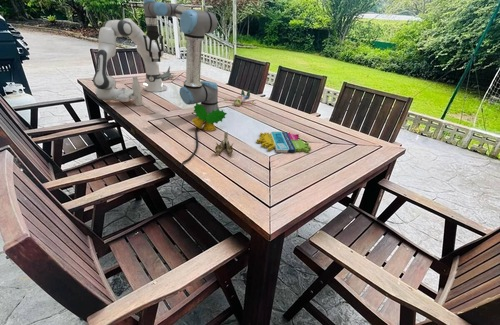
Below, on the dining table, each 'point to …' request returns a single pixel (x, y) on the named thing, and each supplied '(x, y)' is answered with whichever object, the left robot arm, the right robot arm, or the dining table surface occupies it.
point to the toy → (241, 99)
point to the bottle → (137, 91)
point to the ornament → (207, 117)
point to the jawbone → (224, 145)
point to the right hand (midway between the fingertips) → (156, 61)
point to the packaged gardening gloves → (283, 142)
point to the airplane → (166, 74)
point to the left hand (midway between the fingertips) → (138, 96)
